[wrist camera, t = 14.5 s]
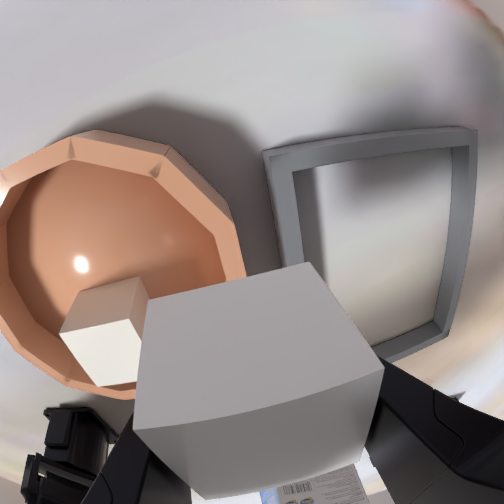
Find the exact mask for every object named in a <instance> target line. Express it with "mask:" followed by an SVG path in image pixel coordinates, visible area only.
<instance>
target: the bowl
mask: <svg viewBox="0 0 504 504" xmlns="http://www.w3.org/2000/svg"><path fill="white" fill-rule="evenodd" d="M137 276H140V278H141V280H142V282H143V285H144V287H145V289H146V291H147V294H148V296H149V298H150V299H154V298H159V297H163V296H168V295H172V294H177V293H181V292H185V291H190V290H194V289H198V288H202V287H207V286H211V285H215V284H219V283H224V282H228V281H232V280H236V279H240V278H244V277H247V275H246V271H245V267H244V262H243V258H242V254H241V250H240V246H239V241H238V237H237V233H236V228H235V224H234V221H233V218H232V215H231V212H230V209H229V206H228V203H227V201H226V200H225V199H224V198H223V197H222V196H221V195H220V194H219V193H218V192H217V191H216V190H215V189H214V188H213V187H212V186H211V185H210V184H209V183H208V182H207V181H206V180H205V179H204V178H203V177H202V176H201V175H200V174H199V173H198V172H197V171H196V170H195V169H194V168H193V167H192V166H191V165H190V164H189V163H188V162H187V161H186V160H185V159H184V158H183V157H182V156H181V155H180V154H179V153H178V152H177V151H176V150H175V149H174V148H173V147H172V146H170V145H166V144H161V143H157V142H153V141H149V140H144V139H140V138H135V137H131V136H126V135H121V134H116V133H112V132H107V131H101V130H96V129H94V130H91V131H87V132H83V133H80V134H76V135H72V136H69V137H67V138H65V139H63V140H60V141H58V142H56V143H54V144H52V145H49V146H47V147H45V148H43V149H41V150H39V151H37V152H35V153H33V154H31V155H29V156H27V157H25V158H23V159H21V160H19V161H18V162H16V163H14V164H12V165H10V166H8V167H7V168H5V169H3V170H1V171H0V330H1V332H2V333H3V335H4V336H5V338H6V339H7V341H8V342H9V344H10V345H11V346H12V348H13V349H14V350H15V351H16V352H17V353H18V354H20V355H21V356H22V357H24V358H25V359H26V360H28V361H29V362H31V363H32V364H33V365H35V366H36V367H38V368H39V369H40V370H42V371H43V372H45V373H46V374H48V375H49V376H51V377H52V378H54V379H55V380H57V381H58V382H60V383H62V384H63V385H65V386H68V387H71V388H75V389H78V390H82V391H86V392H90V393H94V394H98V395H103V396H107V397H111V398H116V399H121V400H129V399H135V394H136V384H137V381H136V382H129V383H123V384H116V385H108V386H100V387H97V386H96V384H95V383H94V382H93V381H92V379H91V378H90V377H89V375H88V374H87V373H86V372H85V370H84V369H83V368H82V366H81V365H80V364H79V362H78V361H77V359H76V358H75V357H74V355H73V354H72V353H71V351H70V350H69V348H68V347H67V345H66V344H65V342H64V341H63V339H62V338H61V336H60V335H59V332H60V330H61V327H62V325H63V323H64V321H65V319H66V317H67V314H68V312H69V310H70V308H71V306H72V304H73V302H74V300H75V298H76V296H77V294H78V292H80V291H84V290H88V289H92V288H95V287H99V286H103V285H107V284H110V283H114V282H118V281H122V280H126V279H129V278H133V277H137Z"/></svg>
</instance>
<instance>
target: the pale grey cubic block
mask: <svg viewBox="0 0 504 504" xmlns="http://www.w3.org/2000/svg"><path fill="white" fill-rule="evenodd" d="M384 369H385V368H384V366H383V365H382V363H381V362H380V360H379V359H378V357H377V356H376V354H375V353H374V351H373V350H372V348H371V347H370V346H369V344H368V343H367V341H366V340H365V338H364V337H363V335H362V334H361V333H360V331H359V330H358V328H357V327H356V325H355V324H354V323H353V321H352V320H351V318H350V317H349V316H348V314H347V313H346V311H345V310H344V309H343V307H342V306H341V304H340V303H339V302H338V300H337V299H336V297H335V296H334V295H333V293H332V292H331V290H330V289H329V288H328V286H327V285H326V284H325V282H324V281H323V279H322V278H321V277H320V275H319V274H318V273H317V271H316V270H315V269H314V267H313V266H312V265H311V263H310V262H305V263H301V264H297V265H293V266H289V267H285V268H281V269H277V270H273V271H269V272H265V273H261V274H257V275H253V276H249V277H244V278H240V279H236V280H232V281H228V282H224V283H219V284H215V285H211V286H207V287H202V288H198V289H194V290H190V291H185V292H181V293H177V294H172V295H168V296H163V297H159V298H154V299H150V300H148V304H147V310H146V316H145V323H144V329H143V336H142V343H141V351H140V358H139V367H138V375H137V384H136V394H135V405H134V418H133V431H134V432H135V433H136V434H137V435H138V436H139V437H140V438H141V440H142V441H143V442H144V443H145V444H146V445H147V446H148V447H149V448H150V449H151V450H152V451H153V452H154V453H155V454H156V455H157V456H158V457H159V458H160V459H161V460H162V461H163V462H164V463H165V464H166V465H167V466H168V467H169V468H170V469H171V470H172V471H173V472H174V473H175V474H176V475H177V476H179V477H180V478H181V479H182V480H183V481H184V482H185V483H186V484H187V485H189V486H190V487H191V488H192V489H193V490H194V491H195V492H197V493H198V494H199V495H200V496H201V497H203V498H204V499H205V500H210V499H217V498H224V497H231V496H237V495H243V494H248V493H253V492H258V491H263V490H267V489H272V488H276V487H280V486H284V485H288V484H292V483H295V482H299V481H302V480H306V479H309V478H313V477H316V476H319V475H322V474H325V473H328V472H331V471H334V470H337V469H340V468H342V467H345V466H348V465H350V464H353V463H356V462H358V461H360V458H361V455H362V452H363V448H364V445H365V442H366V439H367V436H368V432H369V429H370V425H371V422H372V418H373V415H374V411H375V407H376V403H377V399H378V395H379V391H380V387H381V382H382V378H383V373H384Z"/></svg>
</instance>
